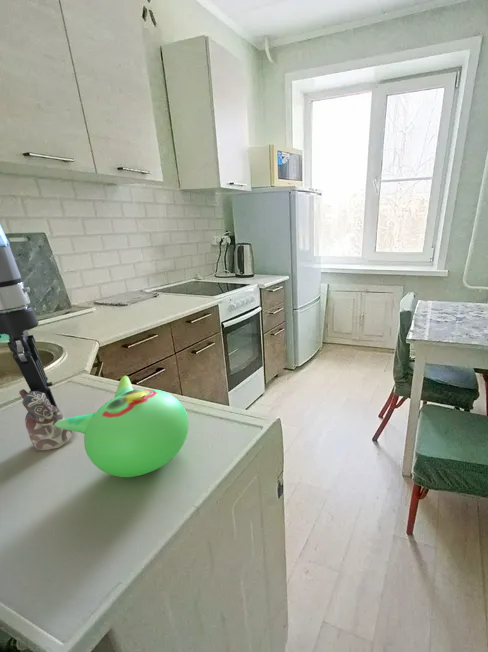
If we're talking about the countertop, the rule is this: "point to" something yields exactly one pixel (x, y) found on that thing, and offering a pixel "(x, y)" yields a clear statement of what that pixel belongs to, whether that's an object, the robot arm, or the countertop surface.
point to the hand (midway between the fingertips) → (52, 417)
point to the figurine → (43, 421)
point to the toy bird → (132, 430)
